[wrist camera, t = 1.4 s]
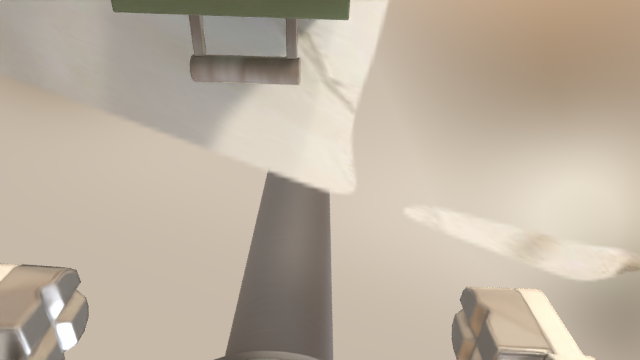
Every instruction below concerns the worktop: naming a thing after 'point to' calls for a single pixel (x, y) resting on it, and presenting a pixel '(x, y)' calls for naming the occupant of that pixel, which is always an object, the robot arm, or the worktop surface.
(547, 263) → the worktop surface
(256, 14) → the drawer
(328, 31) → the worktop surface
